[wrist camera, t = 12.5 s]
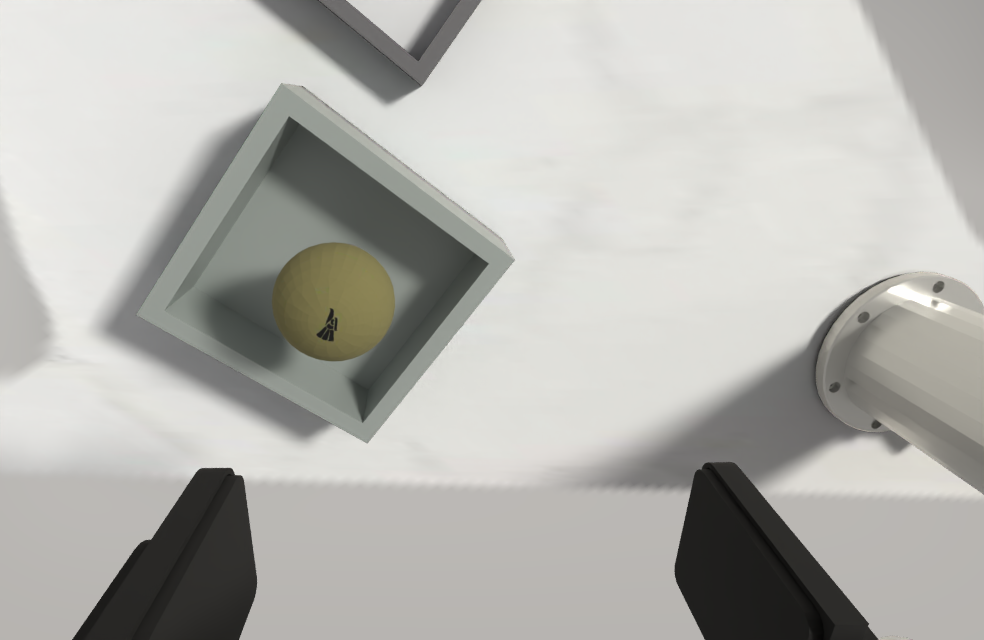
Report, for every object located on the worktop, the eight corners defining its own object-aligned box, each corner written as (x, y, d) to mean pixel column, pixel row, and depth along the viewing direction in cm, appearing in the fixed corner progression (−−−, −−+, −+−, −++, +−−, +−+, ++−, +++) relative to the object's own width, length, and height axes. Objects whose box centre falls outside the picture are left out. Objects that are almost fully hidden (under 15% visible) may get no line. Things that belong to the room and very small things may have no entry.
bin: (502, 238, 34) (514, 260, 30) (373, 401, 37) (367, 443, 33) (302, 86, 30) (281, 83, 25) (175, 285, 33) (135, 314, 28)
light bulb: (401, 302, 34) (398, 378, 25) (308, 307, 33) (269, 388, 24) (394, 211, 32) (387, 258, 23) (294, 215, 31) (246, 265, 22)
